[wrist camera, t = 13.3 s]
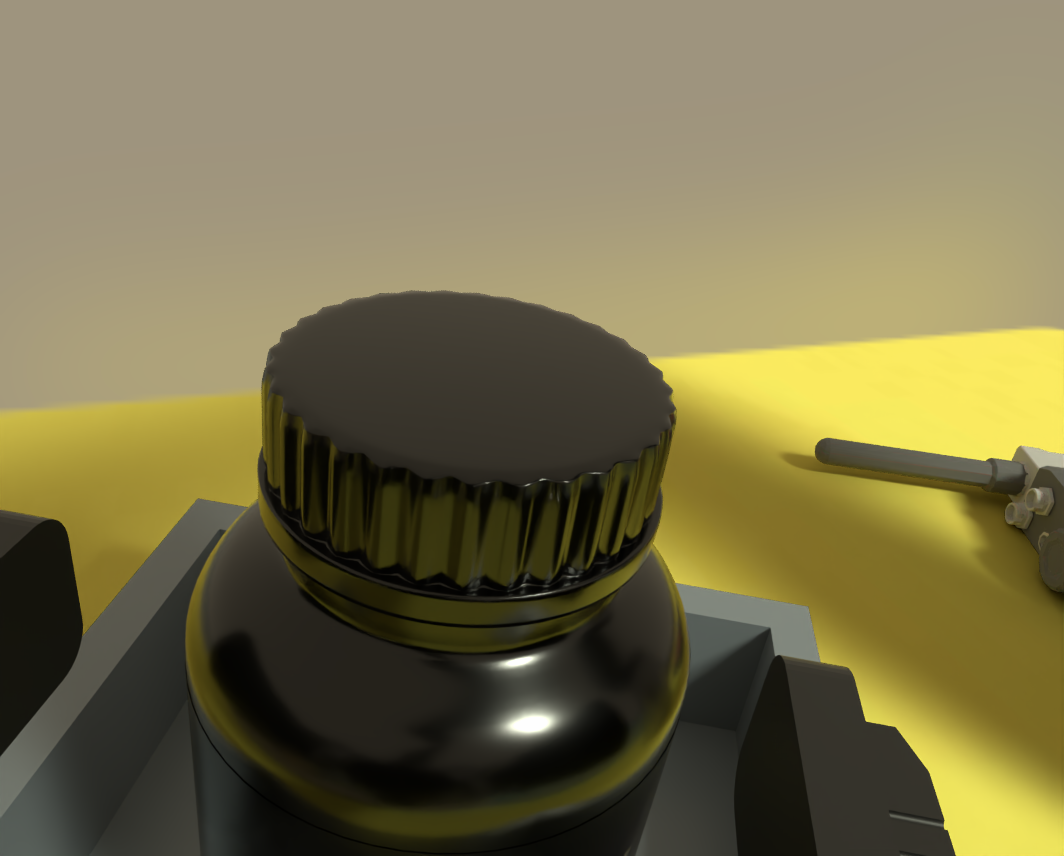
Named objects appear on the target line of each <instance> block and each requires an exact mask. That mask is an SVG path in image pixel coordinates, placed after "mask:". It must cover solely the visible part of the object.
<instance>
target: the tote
mask: <svg viewBox="0 0 1064 856" xmlns="http://www.w3.org/2000/svg"><path fill="white" fill-rule="evenodd" d="M247 508H248V507H243V506H238V505H232V504H226V503H221V502H215V501H209V500H204V499H197V500H196V501H195V503H194V504H193V505H192V506H191V507H190V509H189V510H188V511H187V512H186V513H185V515H184V516H183V517H182V518H181V519H180V521H179V522H178V523H177V524H176V525H175V526H174V528H173V529H172V530H171V531H170V532H169V534H168V535H167V536H166V537H165V538H164V540H163V541H162V542H161V543H160V544H159V546H158V547H157V548H156V549H155V550H154V552H153V553H152V554H151V555H150V556H149V558H148V559H147V560H146V561H145V562H144V564H143V565H142V566H141V567H140V568H139V569H138V571H137V572H136V573H135V574H134V575H133V577H132V578H131V579H130V580H129V581H128V583H127V584H126V585H125V586H124V587H123V589H122V590H121V591H120V592H119V593H118V595H117V596H116V597H115V598H114V599H113V601H112V602H111V603H110V604H109V605H108V606H107V608H106V609H105V610H104V611H103V612H102V614H101V615H100V616H99V617H98V618H97V620H96V621H95V622H94V623H93V624H92V626H91V627H90V628H89V629H88V630H87V632H86V633H85V634H84V635H83V636H82V640H81V645H80V648H79V652H78V655H77V657H76V659H75V662H74V664H73V666H72V668H71V670H70V671H69V673H68V674H67V676H66V677H65V679H64V680H63V681H62V682H61V684H60V685H59V686H58V687H57V688H56V690H55V691H54V692H53V693H52V695H51V696H50V697H49V698H48V699H47V701H46V702H45V703H44V704H43V705H42V707H41V708H40V709H39V710H38V712H37V713H36V714H35V715H34V716H33V718H32V719H31V720H30V721H29V723H28V724H27V725H26V726H25V727H24V729H23V730H22V731H21V732H20V733H19V735H18V736H17V737H16V738H15V740H14V741H13V742H12V743H11V744H10V746H9V747H8V748H7V749H6V751H5V752H4V753H3V754H2V755H1V757H0V856H200V844H199V832H198V820H197V808H196V796H195V784H194V772H193V760H192V748H191V736H190V724H189V712H188V700H187V688H186V675H185V632H186V619H187V614H188V608H189V603H190V599H191V596H192V593H193V590H194V587H195V584H196V581H197V579H198V577H199V575H200V573H201V571H202V569H203V567H204V565H205V563H206V561H207V559H208V557H209V555H210V554H211V552H212V551H213V549H214V548H215V546H216V545H217V543H218V542H219V540H220V538H221V537H222V536H223V534H224V533H225V532H226V531H227V529H228V528H229V527H230V526H231V525H232V523H233V522H234V521H235V520H236V519H237V518H238V517H239V516H240V515H241V514H242V513H243V512H244V511H245V510H246V509H247ZM675 584H676V586H677V589H678V592H679V594H680V597H681V600H682V603H683V606H684V610H685V614H686V619H687V623H688V628H689V636H690V647H691V660H690V675H689V680H688V685H687V690H686V695H685V699H684V703H683V707H682V710H681V715H680V719H679V722H678V726H677V729H676V732H675V735H674V738H673V741H672V744H671V747H670V750H669V753H668V757H667V760H666V763H665V766H664V769H663V772H662V775H661V778H660V781H659V784H658V787H657V790H656V794H655V797H654V800H653V803H652V806H651V809H650V812H649V815H648V818H647V821H646V824H645V827H644V831H643V834H642V837H641V840H640V843H639V846H638V849H637V852H636V855H635V856H738V851H737V839H736V826H735V814H734V788H735V777H736V770H737V764H738V759H739V754H740V751H741V748H742V745H743V742H744V739H745V736H746V733H747V730H748V727H749V724H750V721H751V718H752V716H753V713H754V710H755V707H756V704H757V701H758V698H759V695H760V692H761V689H762V687H763V684H764V681H765V678H766V675H767V672H768V669H769V667H770V664H771V662H772V660H773V659H774V657H775V656H777V655H783V656H788V657H794V658H799V659H805V660H810V661H815V662H820V658H819V653H818V649H817V644H816V640H815V635H814V630H813V626H812V621H811V617H810V612H809V608H808V606H802V605H796V604H791V603H785V602H779V601H774V600H768V599H762V598H757V597H751V596H745V595H740V594H734V593H729V592H723V591H717V590H712V589H706V588H700V587H695V586H689V585H683V584H678V583H675Z"/></svg>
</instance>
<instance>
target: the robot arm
mask: <svg viewBox="0 0 1064 856" xmlns="http://www.w3.org/2000/svg"><path fill="white" fill-rule="evenodd" d="M82 633H83V622H82V615H81V609H80V603H79V597H78V591H77V586H76V580H75V574H74V568H73V562H72V556H71V550H70V544H69V539H68V535H67V531H66V529H65V527H64V526H63V525H62V523H60V522H59V521H57V520H54V519H48V518H43V517H37V516H32V515H26V514H21V513H16V512H10V511H5V510H0V757H1V755H2V754H3V753H4V752H5V751H6V749H7V748H8V747H9V746H10V744H11V743H12V742H13V741H14V740H15V738H16V737H17V736H18V735H19V733H20V732H21V731H22V730H23V729H24V727H25V726H26V725H27V724H28V723H29V721H30V720H31V719H32V718H33V716H34V715H35V714H36V713H37V712H38V710H39V709H40V708H41V707H42V705H43V704H44V703H45V702H46V701H47V699H48V698H49V697H50V696H51V695H52V693H53V692H54V691H55V690H56V688H57V687H58V686H59V685H60V684H61V682H62V681H63V680H64V679H65V677H66V676H67V674H68V673H69V671H70V670H71V668H72V666H73V664H74V662H75V659H76V657H77V655H78V652H79V648H80V645H81V640H82ZM734 814H735V826H736V839H737V851H738V856H956V855H955V852H954V849H953V845H952V842H951V839H950V836H949V833H948V830H944V817H943V814H942V811H941V808H940V805H939V802H938V799H937V796H936V792H935V789H934V786H933V783H932V780H931V777H930V774H929V771H928V770H927V769H926V767H925V766H924V765H923V763H922V762H921V761H920V759H919V758H918V757H917V755H916V754H915V753H914V751H913V750H912V749H911V747H910V746H909V745H908V743H907V742H906V741H905V739H904V738H903V737H902V735H901V734H900V733H899V731H898V730H897V729H896V727H892V726H886V725H881V724H876V723H870V722H866V721H865V717H864V714H863V710H862V706H861V702H860V698H859V694H858V690H857V687H856V683H855V679H854V676H853V674H852V672H851V671H850V670H849V668H847V667H843V666H837V665H832V664H826V663H821V662H815V661H810V660H805V659H799V658H794V657H788V656H783V655H777V656H775V657H774V659H773V660H772V662H771V664H770V667H769V669H768V672H767V675H766V678H765V681H764V684H763V687H762V689H761V692H760V695H759V698H758V701H757V704H756V707H755V710H754V713H753V716H752V718H751V721H750V724H749V727H748V730H747V733H746V736H745V739H744V742H743V745H742V748H741V751H740V754H739V759H738V764H737V770H736V777H735V788H734Z"/></svg>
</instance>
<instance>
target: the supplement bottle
mask: <svg viewBox="0 0 1064 856" xmlns="http://www.w3.org/2000/svg"><path fill="white" fill-rule="evenodd" d="M675 424H676V408H675V406H674V404H673V390H672V388H671V387H670V386H669V385H668V384H666V383H665V382H664V381H663V373H662V371H660V370H659V369H658V368H656V367H655V366H653V365H652V364H651V363H649V361H648V358H647V356H646V355H645V354H643V353H641V352H639V351H637V350H636V349H634V348H632V347H631V346H630V345H629V344H628V343H627V342H626V341H625V340H624V339H622V338H619V337H617V336H615V335H612V334H610V333H608V332H606V331H605V330H604V329H603V328H601V327H600V326H598V325H595V324H592V323H588V322H585V321H583V320H581V319H579V318H577V317H575V316H574V315H572V314H568V313H563V312H559V311H555V310H552V309H550V308H548V307H545V306H543V305H538V304H532V303H526V302H522V301H519V300H516V299H512V298H507V297H494V296H489V295H485V294H480V293H459V292H452V291H433V292H426V291H406V292H401V293H379V294H377V295H373V296H370V297H365V298H355V299H349V300H347V301H345V302H343V303H342V304H338V305H333V306H328V307H323V308H322V309H321V310H319V311H318V312H317V314H314V315H310V316H307V317H304V318H301V319H300V320H299V321H298V323H297V326H295V327H293V328H291V329H288V330H286V331H284V332H282V334H281V338H280V342H279V343H278V344H276V345H274V346H273V347H272V348H271V349H270V350H269V352H268V357H267V362H266V368H265V370H264V374H263V378H262V442H263V446H262V448H261V451H260V455H259V459H258V499H257V500H256V501H254V502H253V503H252V504H251V505H250V506H249V507H248V508H247V509H246V510H245V511H244V512H243V513H242V514H241V515H240V516H239V517H238V518H237V519H236V520H235V521H234V522H233V523H232V525H231V526H230V527H229V528H228V529H227V531H226V532H225V533H224V534H223V536H222V537H221V538H220V540H219V542H218V543H217V545H216V546H215V548H214V549H213V551H212V552H211V554H210V555H209V557H208V559H207V561H206V563H205V565H204V567H203V569H202V571H201V573H200V575H199V577H198V579H197V581H196V584H195V587H194V590H193V593H192V596H191V599H190V603H189V608H188V614H187V619H186V632H185V675H186V688H187V700H188V712H189V724H190V736H191V748H192V760H193V772H194V784H195V796H196V808H197V820H198V832H199V844H200V856H635V855H636V852H637V849H638V846H639V843H640V840H641V837H642V834H643V831H644V827H645V824H646V821H647V818H648V815H649V812H650V809H651V806H652V803H653V800H654V797H655V794H656V790H657V787H658V784H659V781H660V778H661V775H662V772H663V769H664V766H665V763H666V760H667V757H668V753H669V750H670V747H671V744H672V741H673V738H674V735H675V732H676V729H677V726H678V722H679V719H680V715H681V710H682V707H683V703H684V699H685V695H686V690H687V685H688V680H689V675H690V660H691V647H690V636H689V628H688V623H687V619H686V614H685V610H684V606H683V603H682V600H681V597H680V594H679V592H678V589H677V586H676V584H675V581H674V579H673V577H672V575H671V573H670V571H669V569H668V567H667V565H666V563H665V561H664V560H663V558H662V557H661V555H660V553H659V552H658V550H657V549H656V547H655V546H654V544H653V542H654V539H655V535H656V532H657V529H658V526H659V523H660V518H661V513H662V506H663V496H662V489H661V481H662V478H663V474H664V470H665V466H666V462H667V458H668V454H669V450H670V446H671V441H672V437H673V433H674V429H675Z"/></svg>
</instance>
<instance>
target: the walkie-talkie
mask: <svg viewBox="0 0 1064 856" xmlns="http://www.w3.org/2000/svg"><path fill="white" fill-rule="evenodd" d="M815 455H816V458H817V459H818V460H819V461H820V462H822V463H824V464H829V465H836V466H843V467H850V468H856V469H863V470H870V471H876V472H883V473H890V474H897V475H904V476H911V477H918V478H924V479H931V480H938V481H945V482H952V483H959V484H966V485H973V486H980V487H982V488H983V489H984V490H985V491H988V492H994V493H1001V494H1008V496H1009V497H1010V499H1011V500H1012V501H1013V502H1012V503H1009V504H1008V506H1007V508H1006V510H1005V519H1006V522H1007V523H1008V524H1012V525H1015V526H1016V527H1018V528H1021V529H1022V530H1023V532H1024V533H1025V535H1026V536H1027V538H1028V539H1029V541H1030V542H1031V544H1032V545H1033V547H1034V548H1035V549H1036V551H1037V552H1038V554H1039V565H1040V573H1041V576H1042V579H1043V581H1044V583H1045V584H1046V585H1048V587H1049V588H1050V589H1051V590H1054V591H1057V592H1063V593H1064V454H1059V453H1052V452H1047V451H1044V450H1042V449H1039V448H1033V447H1026V446H1019V447H1018V448H1017V450H1016V452H1015V454H1014V457H1013V459H1012V461H1009V460H1002V459H995V458H990V459H988V460H986V461H981V460H974V459H967V458H961V457H954V456H947V455H940V454H934V453H927V452H920V451H913V450H906V449H900V448H893V447H886V446H879V445H873V444H866V443H859V442H852V441H845V440H839V439H832V438H825V439H822V440H821V441H819V442H818V443H817V445H816V447H815Z"/></svg>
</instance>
